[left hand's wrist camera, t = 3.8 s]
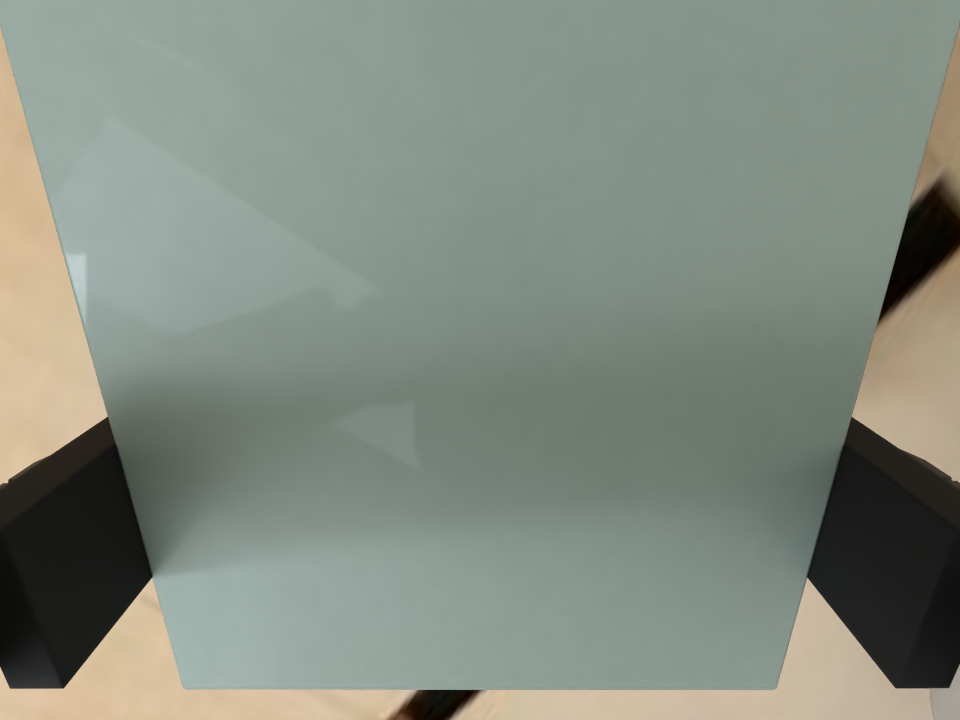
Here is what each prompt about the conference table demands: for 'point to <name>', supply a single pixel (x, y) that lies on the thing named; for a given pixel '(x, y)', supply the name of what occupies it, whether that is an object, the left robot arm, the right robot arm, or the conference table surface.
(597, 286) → the cabinet
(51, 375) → the conference table surface
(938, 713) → the projector
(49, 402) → the conference table surface
